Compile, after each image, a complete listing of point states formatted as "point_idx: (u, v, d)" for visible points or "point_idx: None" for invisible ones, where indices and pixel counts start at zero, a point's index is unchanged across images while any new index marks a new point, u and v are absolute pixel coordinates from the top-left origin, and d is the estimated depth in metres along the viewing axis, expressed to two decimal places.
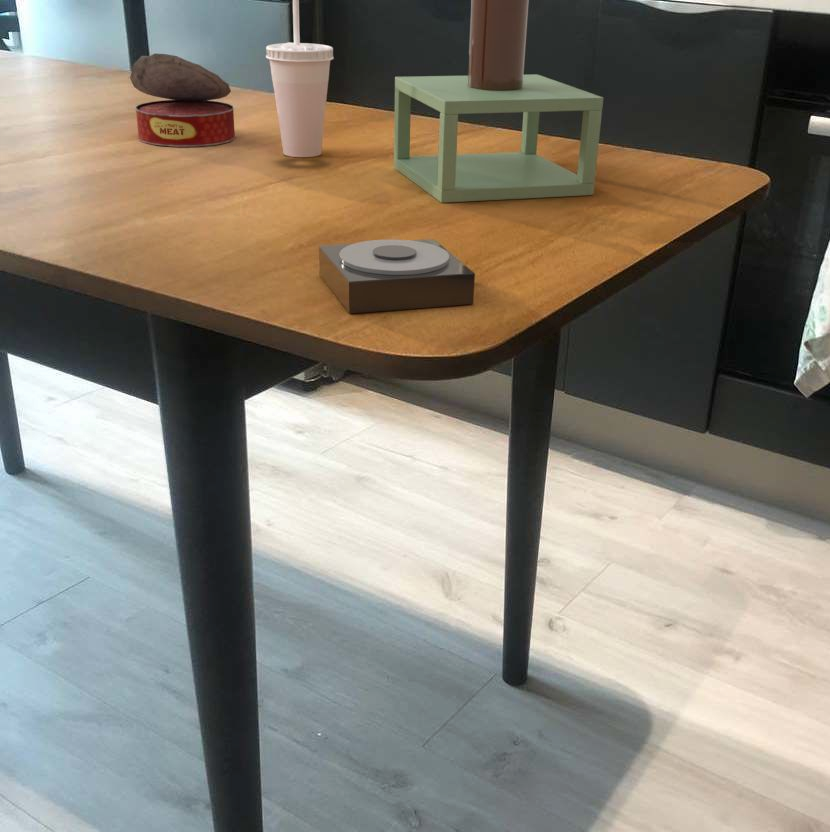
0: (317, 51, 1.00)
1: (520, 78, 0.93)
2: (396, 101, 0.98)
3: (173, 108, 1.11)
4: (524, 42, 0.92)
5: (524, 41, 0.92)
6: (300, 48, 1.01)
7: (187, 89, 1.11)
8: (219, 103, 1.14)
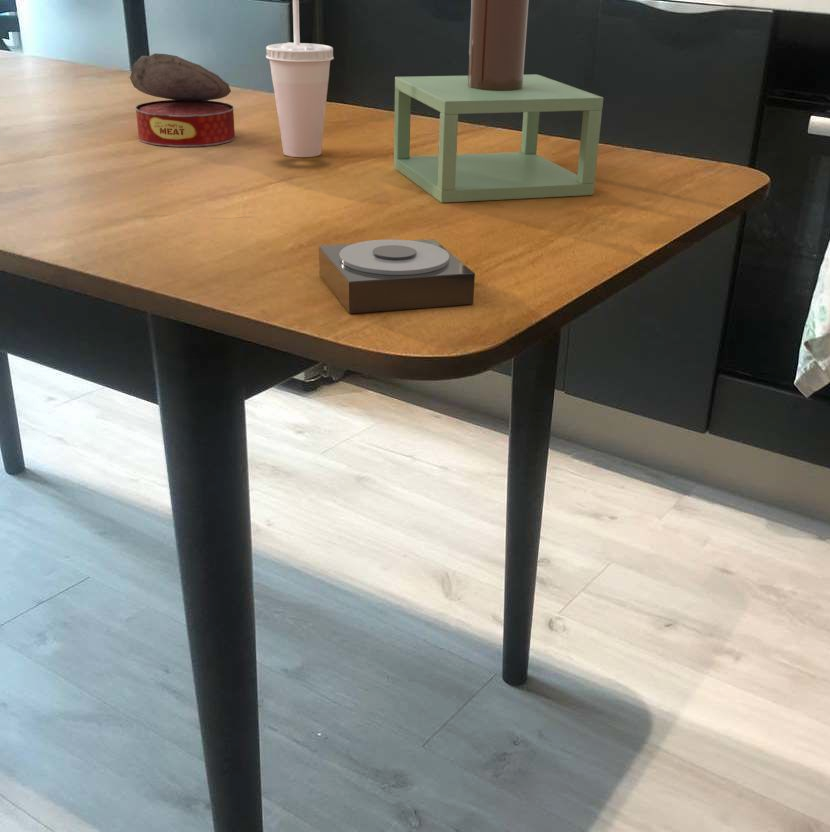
0: (317, 51, 1.00)
1: (520, 78, 0.93)
2: (396, 101, 0.98)
3: (173, 108, 1.11)
4: (524, 42, 0.92)
5: (524, 41, 0.92)
6: (300, 48, 1.01)
7: (187, 89, 1.11)
8: (219, 103, 1.14)
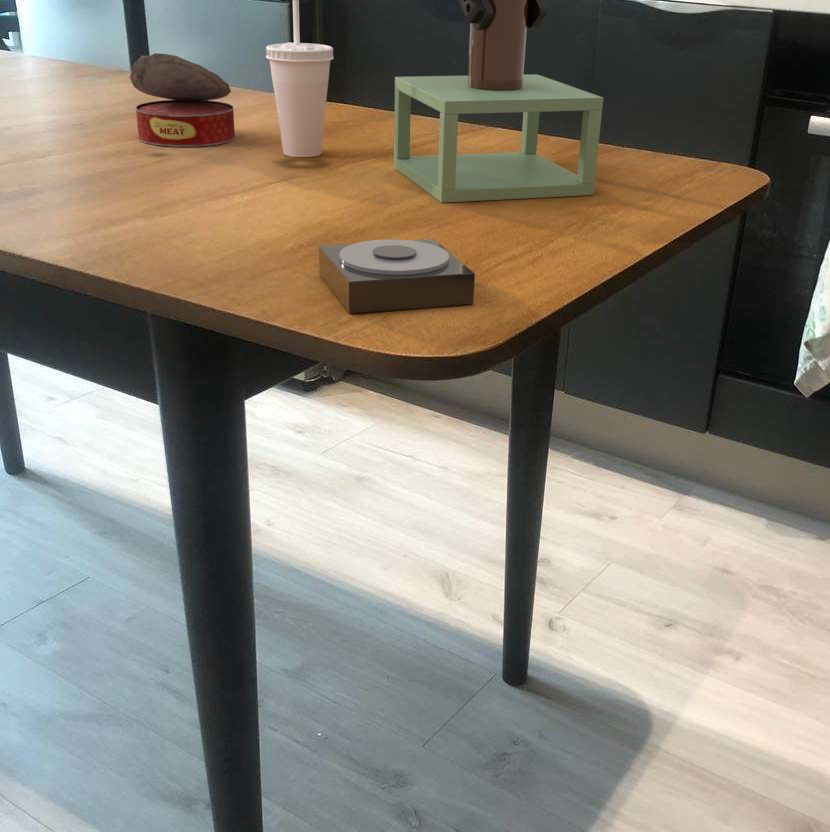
0: (317, 51, 1.00)
1: (520, 78, 0.93)
2: (396, 101, 0.98)
3: (173, 108, 1.11)
4: (525, 42, 0.92)
5: (524, 41, 0.92)
6: (300, 48, 1.01)
7: (187, 89, 1.11)
8: (219, 103, 1.14)
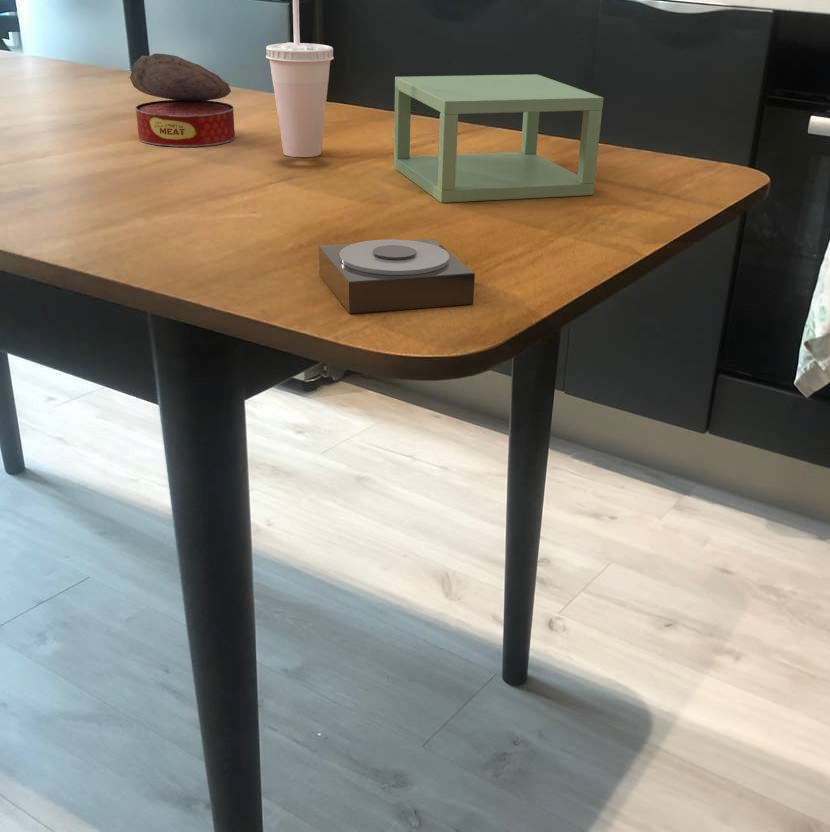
0: (317, 51, 1.00)
1: None
2: (396, 101, 0.98)
3: (173, 108, 1.11)
4: None
5: None
6: (300, 48, 1.01)
7: (187, 89, 1.11)
8: (219, 103, 1.14)
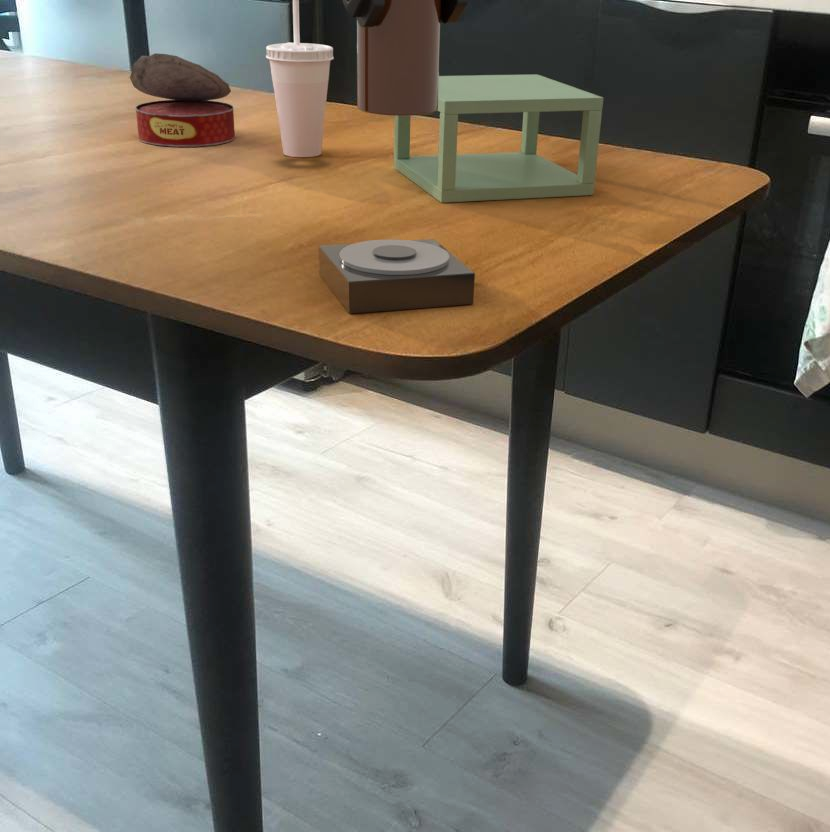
0: (317, 51, 1.00)
1: (433, 97, 0.63)
2: None
3: (173, 108, 1.11)
4: (437, 44, 0.62)
5: (436, 42, 0.62)
6: (300, 48, 1.01)
7: (187, 89, 1.11)
8: (219, 103, 1.14)
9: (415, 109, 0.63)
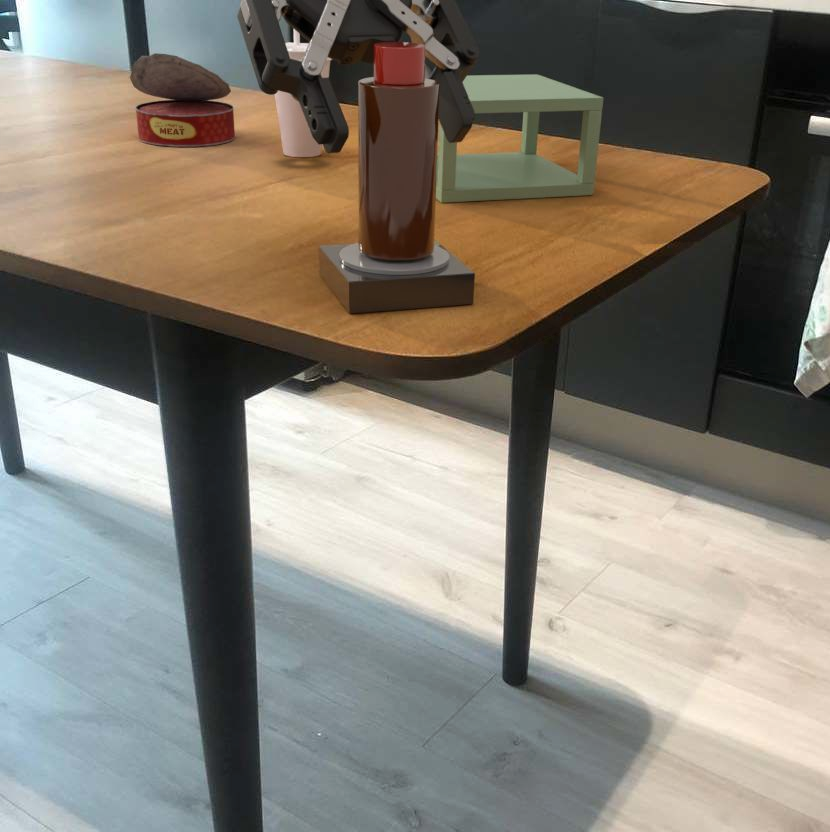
0: None
1: (429, 242, 0.67)
2: None
3: (173, 108, 1.11)
4: (433, 194, 0.66)
5: (433, 194, 0.66)
6: (300, 48, 1.01)
7: (187, 89, 1.11)
8: (219, 103, 1.14)
9: (412, 254, 0.67)
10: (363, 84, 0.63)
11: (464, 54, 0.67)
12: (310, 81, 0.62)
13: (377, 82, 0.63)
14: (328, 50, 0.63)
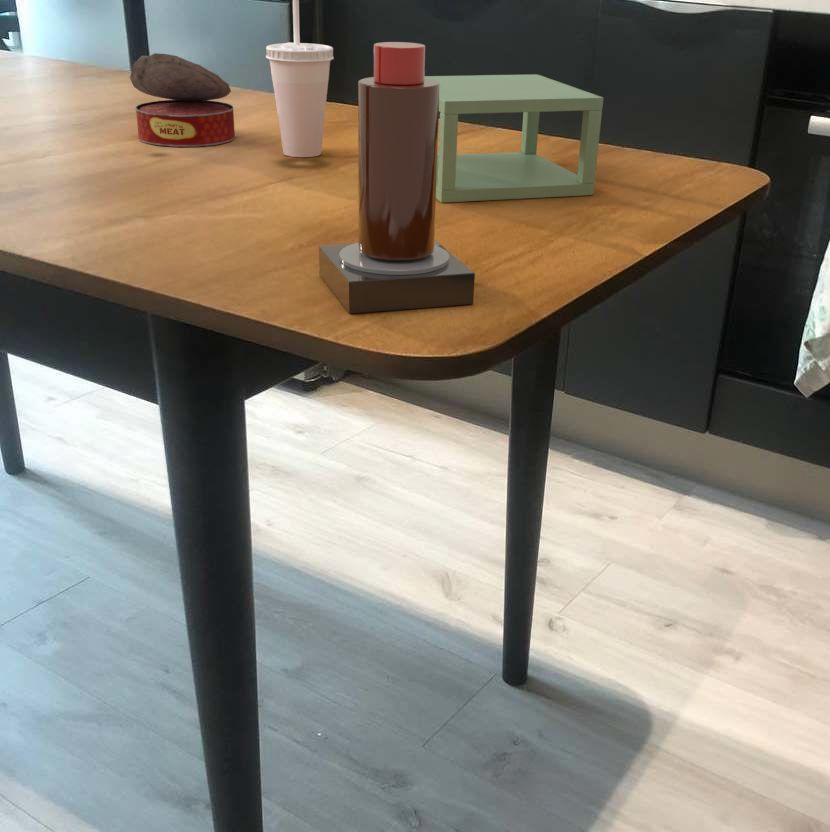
0: (317, 51, 1.00)
1: (429, 242, 0.67)
2: None
3: (173, 108, 1.11)
4: (433, 194, 0.66)
5: (433, 194, 0.66)
6: (300, 48, 1.01)
7: (187, 89, 1.11)
8: (219, 103, 1.14)
9: (412, 254, 0.67)
10: (363, 84, 0.63)
11: None
12: None
13: (377, 82, 0.63)
14: None
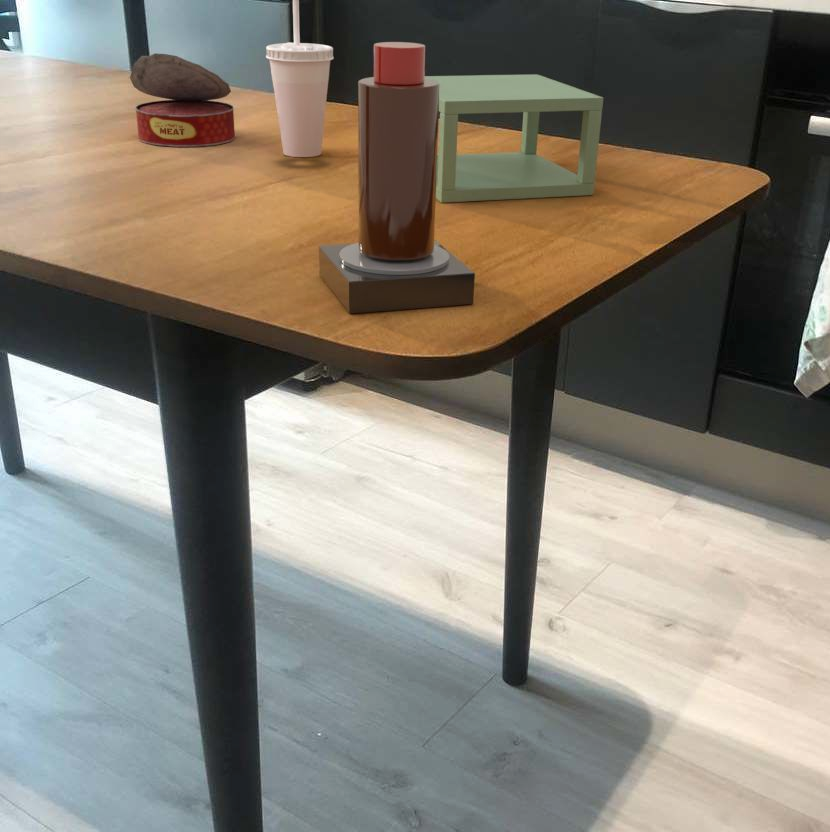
0: (317, 51, 1.00)
1: (429, 242, 0.67)
2: None
3: (173, 108, 1.11)
4: (433, 194, 0.66)
5: (433, 194, 0.66)
6: (300, 48, 1.01)
7: (187, 89, 1.11)
8: (219, 103, 1.14)
9: (412, 254, 0.67)
10: (363, 84, 0.63)
11: None
12: None
13: (377, 82, 0.63)
14: None
